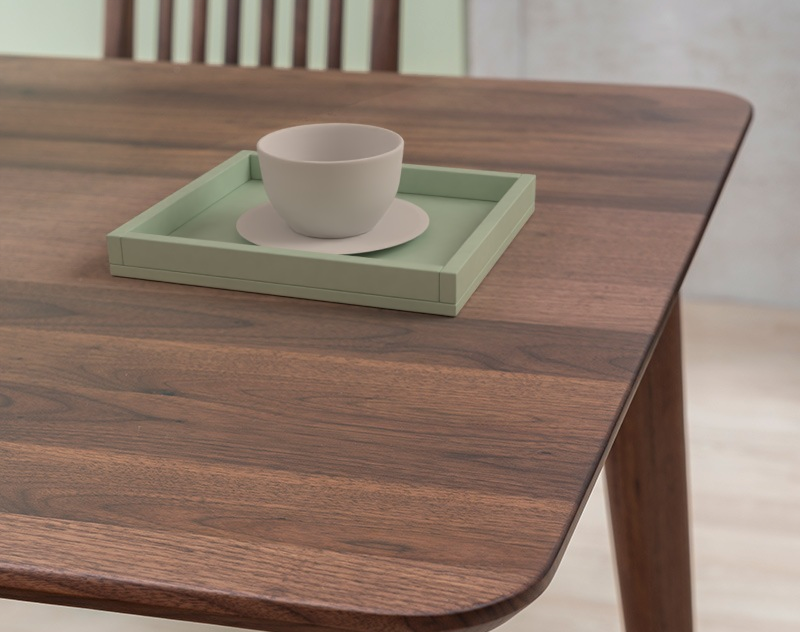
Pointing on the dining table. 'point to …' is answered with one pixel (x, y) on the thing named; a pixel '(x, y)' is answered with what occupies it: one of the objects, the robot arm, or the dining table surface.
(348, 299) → the tray
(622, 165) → the dining table surface
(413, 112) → the dining table surface
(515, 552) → the dining table surface
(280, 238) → the teacup
